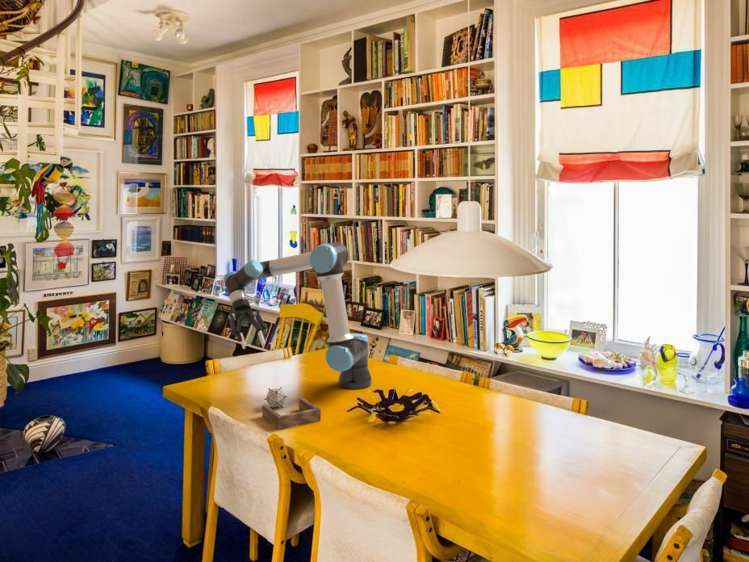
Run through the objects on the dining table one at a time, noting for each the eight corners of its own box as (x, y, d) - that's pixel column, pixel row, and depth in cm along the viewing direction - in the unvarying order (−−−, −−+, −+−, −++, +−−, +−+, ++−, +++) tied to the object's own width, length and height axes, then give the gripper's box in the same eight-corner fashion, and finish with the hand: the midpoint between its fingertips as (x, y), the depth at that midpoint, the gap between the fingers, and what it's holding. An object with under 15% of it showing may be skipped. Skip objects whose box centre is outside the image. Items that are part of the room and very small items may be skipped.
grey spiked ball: (278, 418, 236) (281, 403, 229) (259, 409, 237) (261, 394, 230) (289, 401, 242) (291, 386, 236) (270, 392, 244) (272, 378, 237)
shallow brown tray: (302, 408, 236) (302, 397, 235) (320, 420, 223) (320, 409, 223) (262, 416, 227) (262, 405, 226) (278, 429, 214) (278, 417, 213)
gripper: (259, 305, 271) (274, 347, 260) (215, 309, 260) (228, 353, 249) (264, 295, 266) (279, 338, 255) (218, 299, 255) (232, 343, 244)
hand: (254, 345), depth 252 cm, fingers open, 8 cm apart
